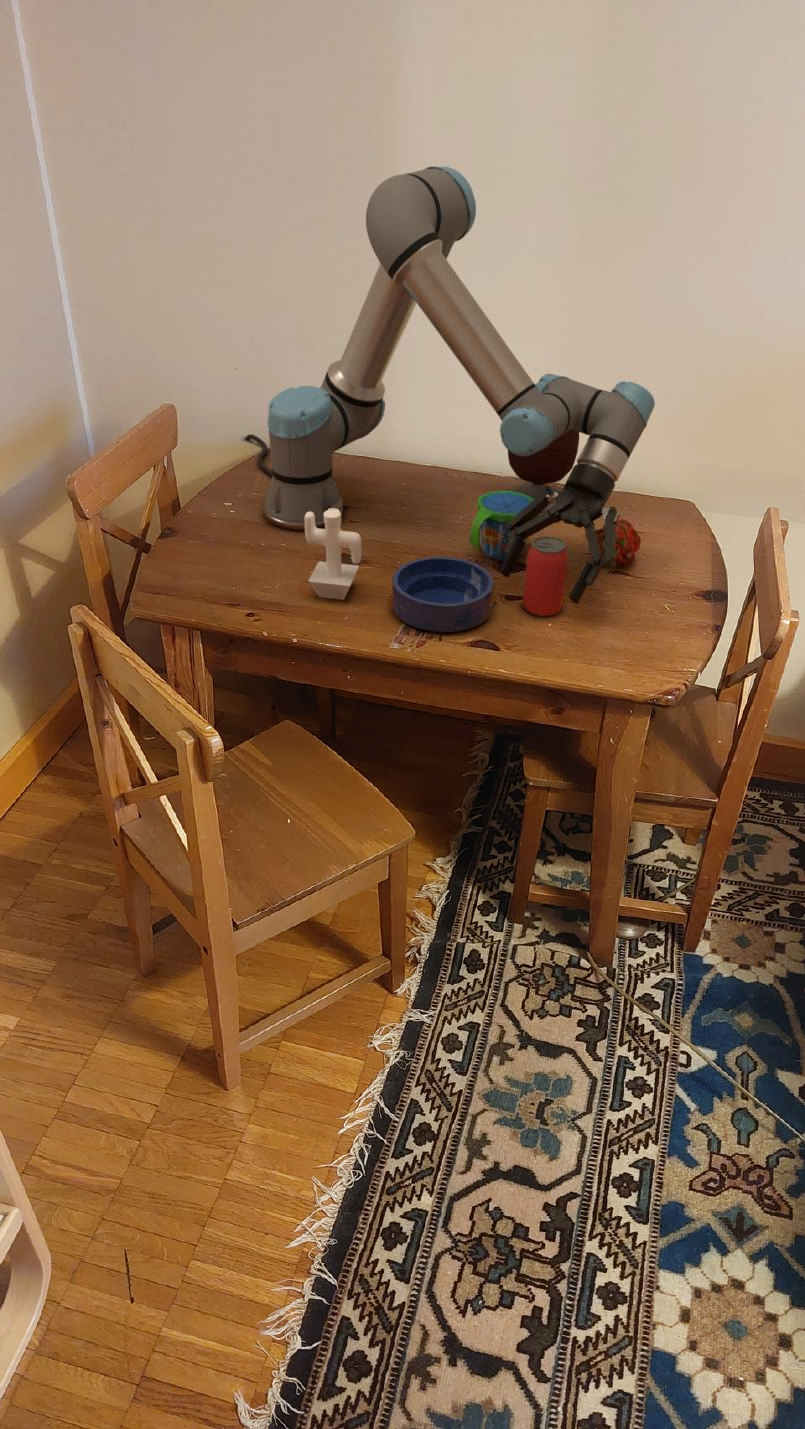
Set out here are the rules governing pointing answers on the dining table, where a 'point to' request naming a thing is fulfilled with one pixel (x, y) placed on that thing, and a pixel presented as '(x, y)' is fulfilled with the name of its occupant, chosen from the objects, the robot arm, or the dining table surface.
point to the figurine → (332, 555)
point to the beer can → (545, 576)
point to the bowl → (442, 594)
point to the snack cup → (496, 521)
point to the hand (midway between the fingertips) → (537, 587)
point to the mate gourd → (545, 465)
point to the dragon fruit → (622, 541)
